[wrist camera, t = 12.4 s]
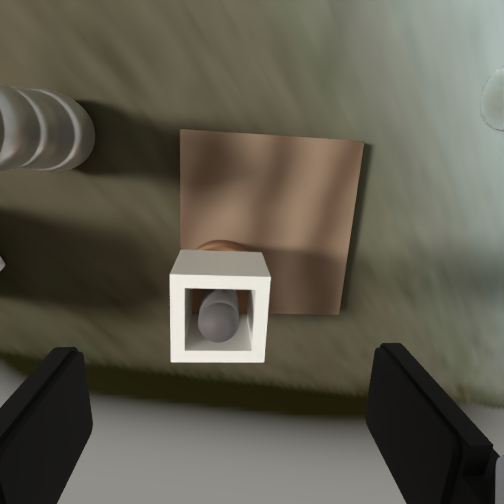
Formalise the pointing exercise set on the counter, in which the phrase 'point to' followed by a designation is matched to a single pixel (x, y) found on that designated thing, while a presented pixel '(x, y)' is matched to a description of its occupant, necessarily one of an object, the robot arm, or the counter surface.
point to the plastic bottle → (43, 130)
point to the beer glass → (493, 100)
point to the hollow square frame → (219, 277)
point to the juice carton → (1, 263)
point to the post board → (269, 217)
